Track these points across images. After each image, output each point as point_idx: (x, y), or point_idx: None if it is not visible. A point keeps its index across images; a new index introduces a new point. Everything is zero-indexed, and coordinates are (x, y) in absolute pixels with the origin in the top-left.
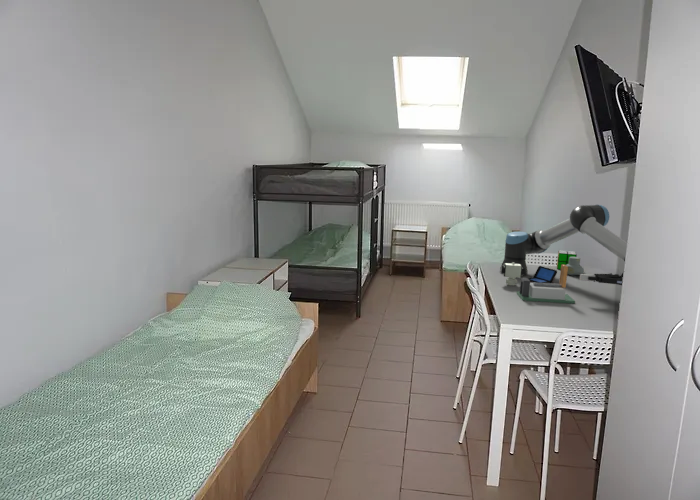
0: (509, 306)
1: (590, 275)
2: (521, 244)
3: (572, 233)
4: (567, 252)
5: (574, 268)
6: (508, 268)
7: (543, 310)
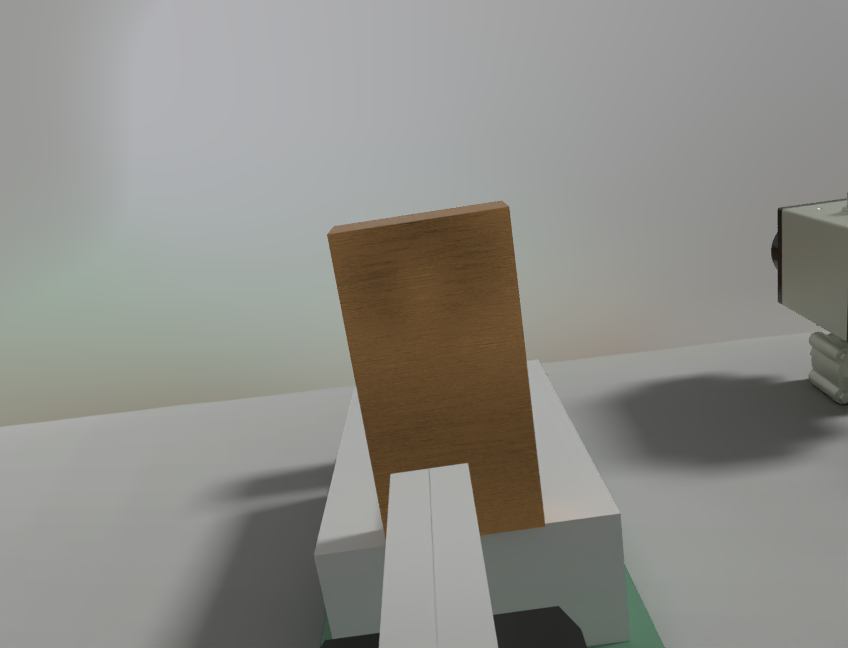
0: (224, 424)
1: (383, 642)
2: None
3: None
4: None
5: None
6: (792, 241)
7: (96, 540)
